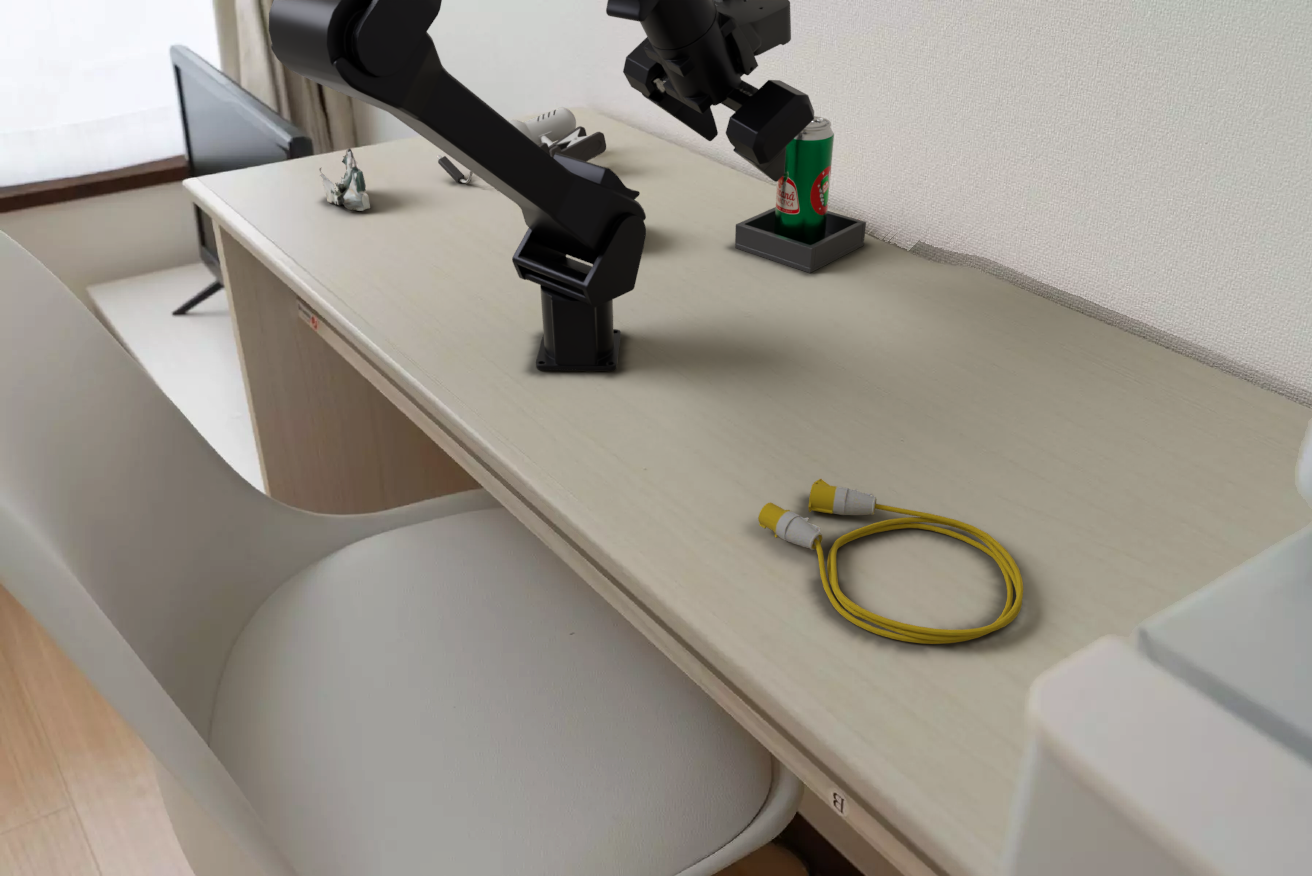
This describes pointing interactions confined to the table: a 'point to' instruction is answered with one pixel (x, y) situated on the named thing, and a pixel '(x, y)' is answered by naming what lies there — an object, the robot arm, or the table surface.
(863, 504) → the extension cord
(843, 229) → the square tray
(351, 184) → the grey green figurine
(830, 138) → the soda can
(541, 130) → the clip-on lamp
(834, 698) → the table surface
